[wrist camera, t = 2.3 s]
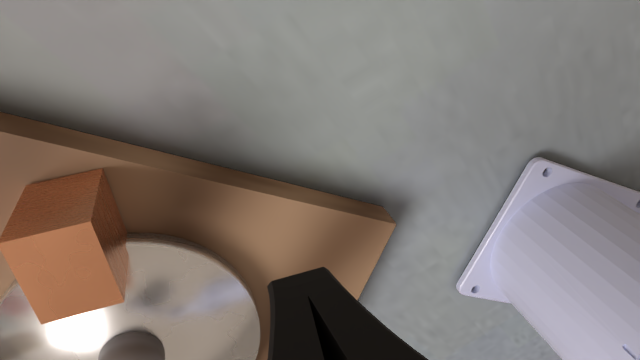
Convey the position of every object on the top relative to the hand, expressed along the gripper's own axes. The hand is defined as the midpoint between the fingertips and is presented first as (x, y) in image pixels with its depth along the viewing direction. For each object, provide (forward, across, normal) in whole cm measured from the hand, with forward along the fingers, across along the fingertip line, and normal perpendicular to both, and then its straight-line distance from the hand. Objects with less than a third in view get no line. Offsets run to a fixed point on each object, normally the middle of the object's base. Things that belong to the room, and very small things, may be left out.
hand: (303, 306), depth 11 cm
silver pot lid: (+8, +6, +5) cm, 11 cm away
